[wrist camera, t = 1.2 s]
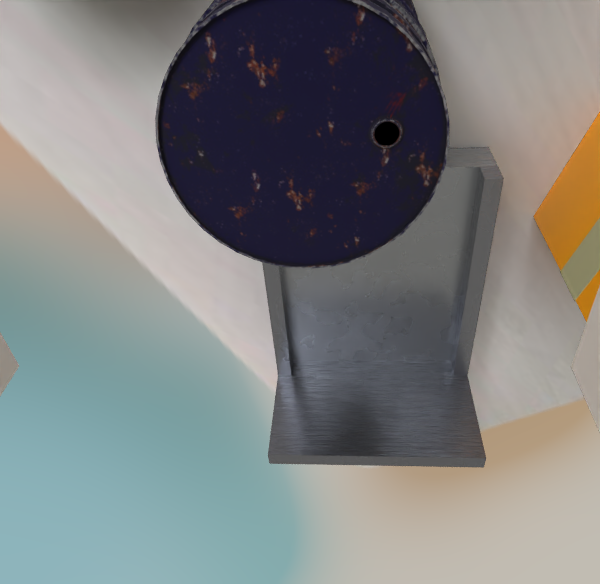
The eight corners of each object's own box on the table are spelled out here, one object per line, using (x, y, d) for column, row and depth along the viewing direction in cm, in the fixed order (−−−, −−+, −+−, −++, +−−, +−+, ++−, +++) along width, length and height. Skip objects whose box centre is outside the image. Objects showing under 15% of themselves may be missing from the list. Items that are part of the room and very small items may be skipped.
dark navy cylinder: (257, 135, 33) (211, 288, 22) (200, -45, 28) (95, 34, 16) (421, 99, 31) (465, 246, 20) (397, -104, 25) (440, -63, 14)
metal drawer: (260, 155, 34) (231, 257, 26) (488, 147, 33) (538, 251, 24) (284, 346, 45) (269, 463, 36) (457, 346, 44) (483, 467, 35)
